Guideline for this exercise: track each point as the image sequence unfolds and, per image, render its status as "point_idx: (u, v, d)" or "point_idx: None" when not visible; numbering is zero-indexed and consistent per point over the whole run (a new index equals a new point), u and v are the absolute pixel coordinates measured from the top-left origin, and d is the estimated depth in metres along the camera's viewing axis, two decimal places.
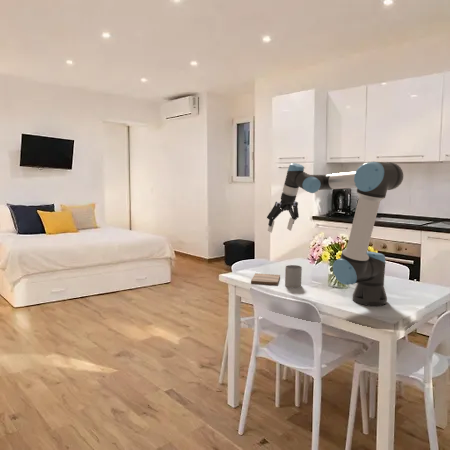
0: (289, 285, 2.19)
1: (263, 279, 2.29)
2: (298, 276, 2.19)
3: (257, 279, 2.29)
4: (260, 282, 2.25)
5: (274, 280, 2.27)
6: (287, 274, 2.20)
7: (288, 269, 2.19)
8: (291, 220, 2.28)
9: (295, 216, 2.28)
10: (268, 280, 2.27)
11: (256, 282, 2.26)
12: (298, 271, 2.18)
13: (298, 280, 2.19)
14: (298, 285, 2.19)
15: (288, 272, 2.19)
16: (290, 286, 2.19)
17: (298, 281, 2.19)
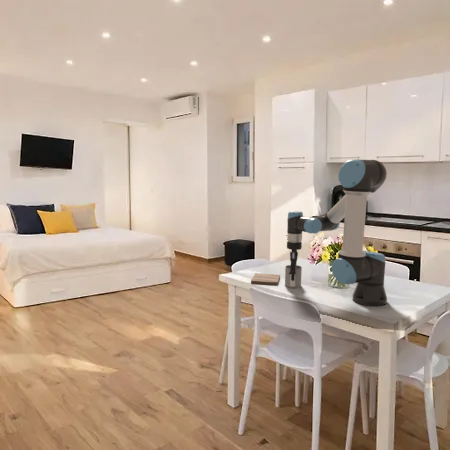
0: (289, 285, 2.19)
1: (263, 279, 2.29)
2: (298, 276, 2.19)
3: (257, 279, 2.29)
4: (260, 282, 2.25)
5: (274, 280, 2.27)
6: (287, 274, 2.20)
7: (288, 269, 2.19)
8: None
9: None
10: (268, 280, 2.27)
11: (256, 282, 2.26)
12: (298, 271, 2.18)
13: (298, 280, 2.19)
14: (298, 285, 2.19)
15: (288, 272, 2.19)
16: (290, 286, 2.19)
17: (298, 281, 2.19)
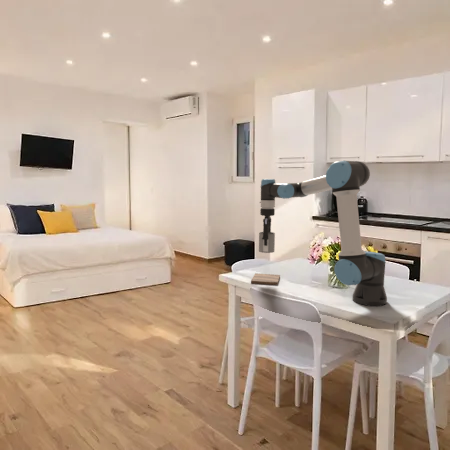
0: (262, 250, 2.27)
1: (263, 279, 2.29)
2: (271, 241, 2.26)
3: (257, 279, 2.29)
4: (260, 282, 2.25)
5: (274, 280, 2.27)
6: (260, 240, 2.27)
7: (261, 235, 2.27)
8: None
9: None
10: (268, 280, 2.27)
11: (256, 282, 2.26)
12: (271, 236, 2.26)
13: (271, 245, 2.27)
14: (271, 250, 2.27)
15: (261, 238, 2.27)
16: (263, 251, 2.27)
17: (271, 246, 2.27)
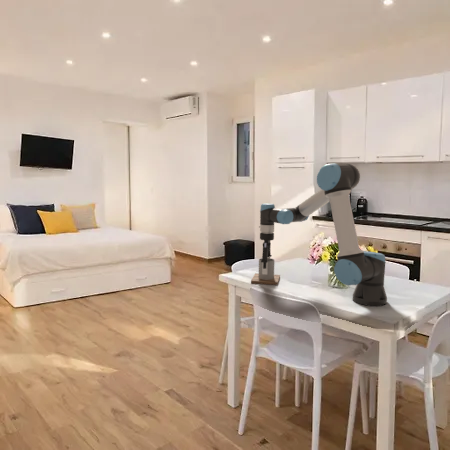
0: (262, 277, 2.29)
1: (263, 279, 2.29)
2: (270, 268, 2.28)
3: (257, 279, 2.29)
4: (260, 282, 2.25)
5: (274, 280, 2.27)
6: (260, 266, 2.29)
7: None
8: None
9: None
10: (268, 280, 2.27)
11: (256, 282, 2.26)
12: (271, 264, 2.28)
13: (270, 272, 2.28)
14: (270, 277, 2.29)
15: (261, 264, 2.29)
16: (263, 278, 2.29)
17: (271, 273, 2.29)
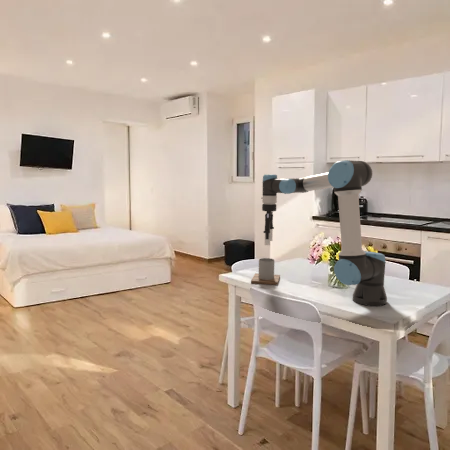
0: (262, 277, 2.29)
1: None
2: (270, 268, 2.28)
3: (257, 279, 2.29)
4: (260, 282, 2.25)
5: (274, 280, 2.27)
6: (260, 266, 2.29)
7: (261, 262, 2.28)
8: (270, 231, 2.35)
9: (271, 226, 2.36)
10: (268, 280, 2.27)
11: (256, 282, 2.26)
12: (271, 264, 2.28)
13: (270, 272, 2.28)
14: (270, 277, 2.29)
15: (261, 265, 2.29)
16: (263, 278, 2.29)
17: (271, 273, 2.29)
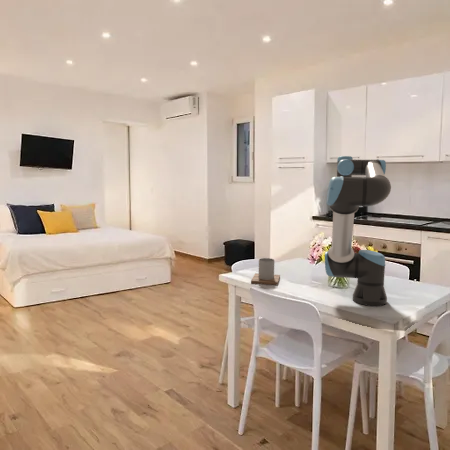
0: (262, 277, 2.29)
1: None
2: (270, 268, 2.28)
3: (257, 279, 2.29)
4: (260, 282, 2.25)
5: (274, 280, 2.27)
6: (260, 266, 2.29)
7: (261, 262, 2.28)
8: None
9: None
10: (268, 280, 2.27)
11: (256, 282, 2.26)
12: (271, 264, 2.28)
13: (270, 272, 2.28)
14: (270, 277, 2.29)
15: (261, 265, 2.29)
16: (263, 278, 2.29)
17: (271, 273, 2.29)
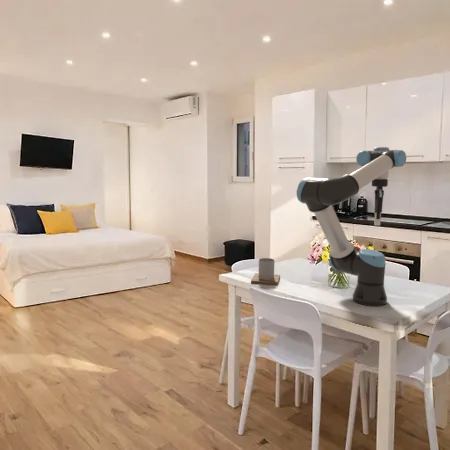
0: (262, 277, 2.29)
1: None
2: (270, 268, 2.28)
3: (257, 279, 2.29)
4: (260, 282, 2.25)
5: (274, 280, 2.27)
6: (260, 266, 2.29)
7: (261, 262, 2.28)
8: None
9: None
10: (268, 280, 2.27)
11: (256, 282, 2.26)
12: (271, 264, 2.28)
13: (270, 272, 2.28)
14: (270, 277, 2.29)
15: (261, 265, 2.29)
16: (263, 278, 2.29)
17: (271, 273, 2.29)
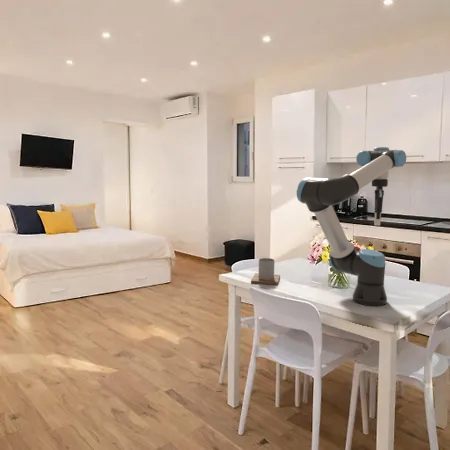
0: (262, 277, 2.29)
1: None
2: (270, 268, 2.28)
3: (257, 279, 2.29)
4: (260, 282, 2.25)
5: (274, 280, 2.27)
6: (260, 266, 2.29)
7: (261, 262, 2.28)
8: None
9: None
10: (268, 280, 2.27)
11: (256, 282, 2.26)
12: (271, 264, 2.28)
13: (270, 272, 2.28)
14: (270, 277, 2.29)
15: (261, 265, 2.29)
16: (263, 278, 2.29)
17: (271, 273, 2.29)
